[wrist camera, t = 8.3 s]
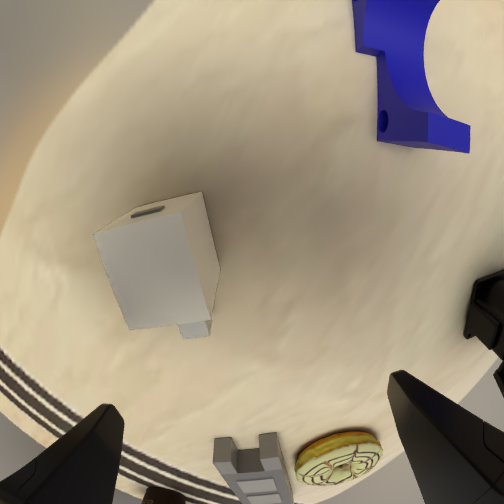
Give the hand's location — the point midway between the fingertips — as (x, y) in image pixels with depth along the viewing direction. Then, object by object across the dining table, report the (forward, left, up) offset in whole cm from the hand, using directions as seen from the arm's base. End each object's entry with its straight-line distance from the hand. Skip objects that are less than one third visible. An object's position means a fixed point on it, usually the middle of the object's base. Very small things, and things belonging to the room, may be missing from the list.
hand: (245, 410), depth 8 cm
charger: (+4, -1, -12) cm, 12 cm away
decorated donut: (-6, +26, -12) cm, 30 cm away
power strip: (+4, +29, -12) cm, 32 cm away
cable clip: (-12, -12, -12) cm, 21 cm away
